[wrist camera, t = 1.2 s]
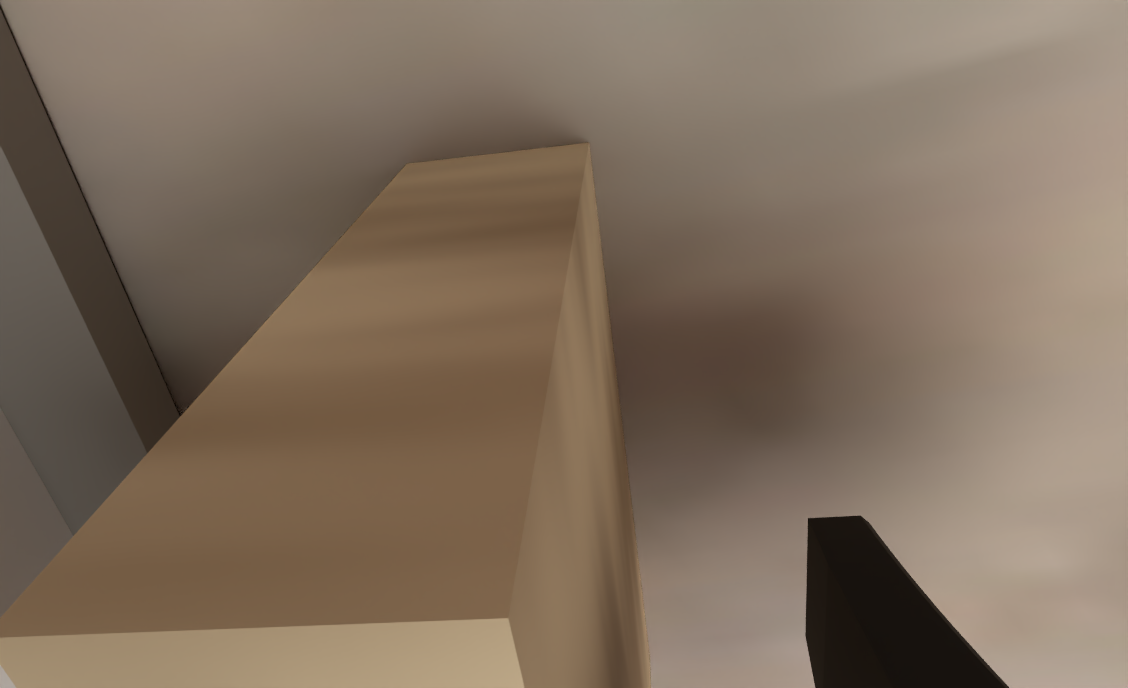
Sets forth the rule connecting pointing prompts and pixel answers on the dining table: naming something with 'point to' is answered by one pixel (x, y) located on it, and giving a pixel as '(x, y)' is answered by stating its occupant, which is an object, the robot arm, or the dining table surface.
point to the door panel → (382, 472)
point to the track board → (59, 348)
